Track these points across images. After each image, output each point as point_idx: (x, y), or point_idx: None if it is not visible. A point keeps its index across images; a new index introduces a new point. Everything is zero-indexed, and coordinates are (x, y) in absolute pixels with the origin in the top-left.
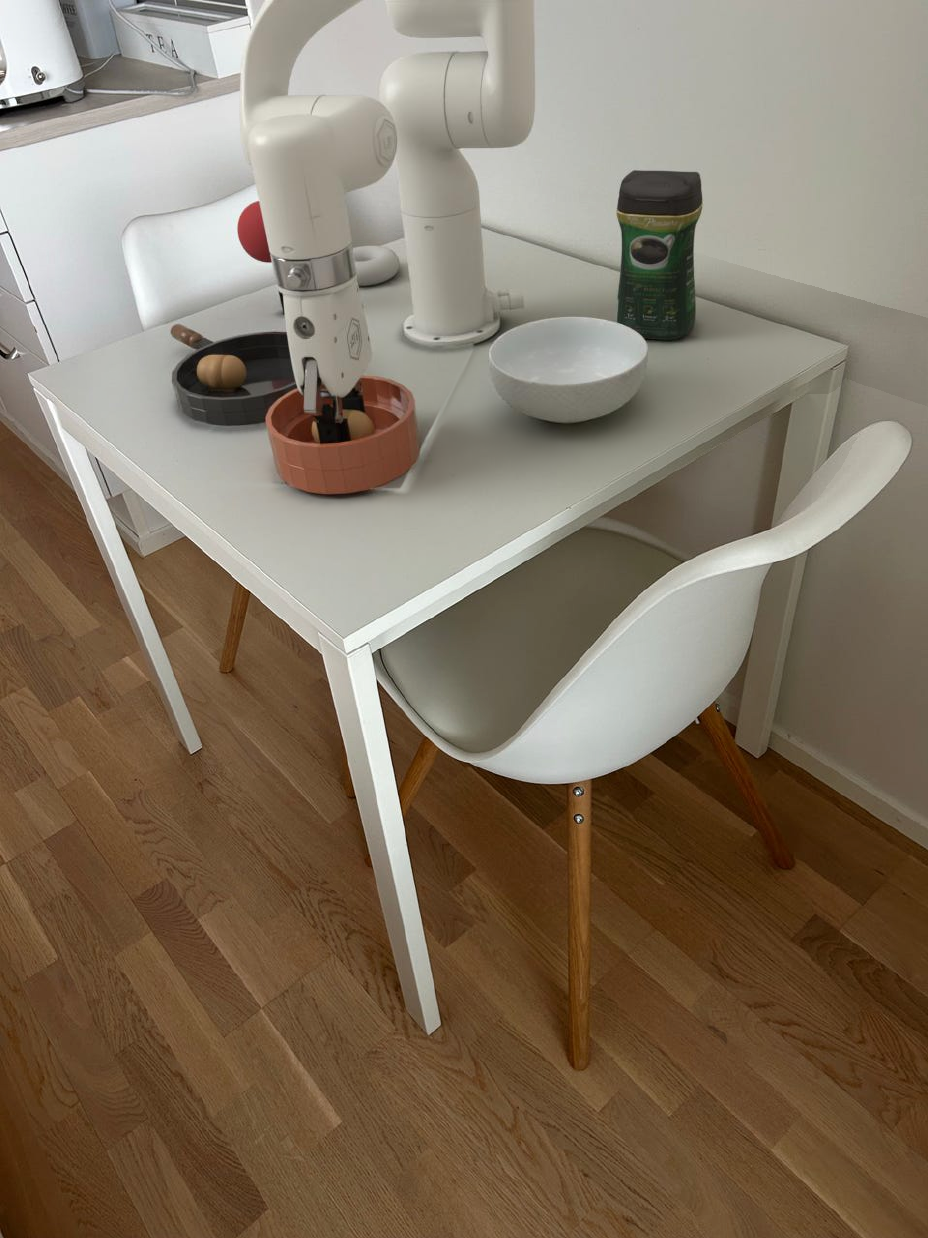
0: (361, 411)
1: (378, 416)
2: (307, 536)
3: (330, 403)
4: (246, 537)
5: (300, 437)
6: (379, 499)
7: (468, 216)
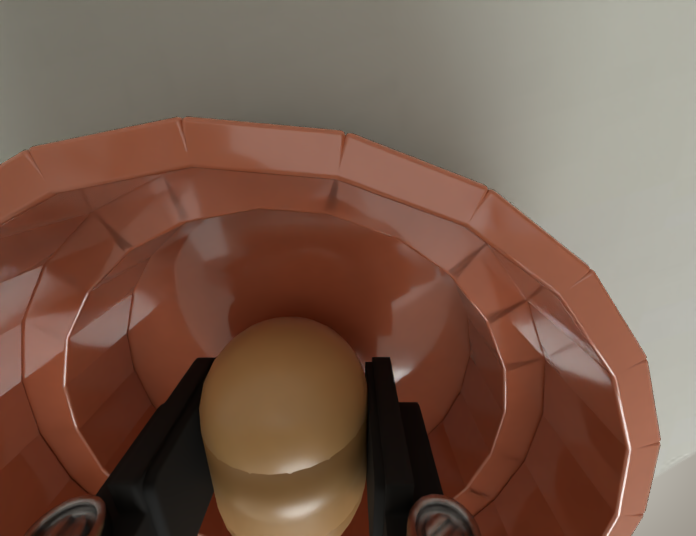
0: (187, 423)
1: (96, 344)
2: (678, 339)
3: None
4: None
5: None
6: (517, 204)
7: None
